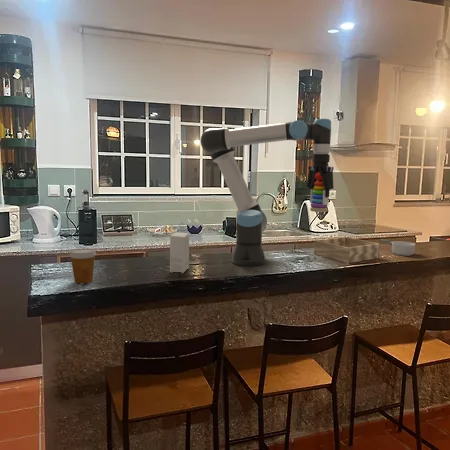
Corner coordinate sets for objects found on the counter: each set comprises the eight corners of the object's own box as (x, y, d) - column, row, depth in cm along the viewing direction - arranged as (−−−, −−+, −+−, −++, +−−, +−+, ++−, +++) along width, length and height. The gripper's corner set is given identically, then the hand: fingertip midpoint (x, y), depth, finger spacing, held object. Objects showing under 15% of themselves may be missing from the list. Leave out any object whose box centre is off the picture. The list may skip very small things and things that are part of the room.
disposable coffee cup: (100, 278, 169) (99, 248, 167) (91, 285, 160) (90, 253, 158) (76, 278, 170) (75, 247, 168) (66, 284, 160) (64, 252, 158)
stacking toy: (329, 212, 199) (331, 171, 196) (311, 212, 199) (313, 170, 196) (325, 210, 207) (327, 170, 204) (308, 210, 207) (310, 170, 204)
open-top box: (347, 263, 200) (348, 248, 199) (313, 254, 219) (314, 240, 218) (379, 257, 212) (380, 243, 211) (344, 249, 231) (345, 236, 230)
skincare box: (175, 267, 188) (175, 232, 185) (190, 268, 187) (190, 232, 184) (169, 272, 180) (169, 235, 177) (184, 273, 178) (184, 236, 176)
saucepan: (387, 248, 238) (388, 238, 237) (419, 255, 221) (420, 244, 220) (372, 249, 232) (373, 239, 231) (404, 257, 215) (405, 246, 214)
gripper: (344, 153, 192) (341, 205, 196) (311, 153, 209) (309, 201, 213) (332, 153, 188) (329, 206, 192) (300, 153, 205) (298, 202, 209)
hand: (318, 203), depth 202 cm, fingers closed on stacking toy, 7 cm apart
